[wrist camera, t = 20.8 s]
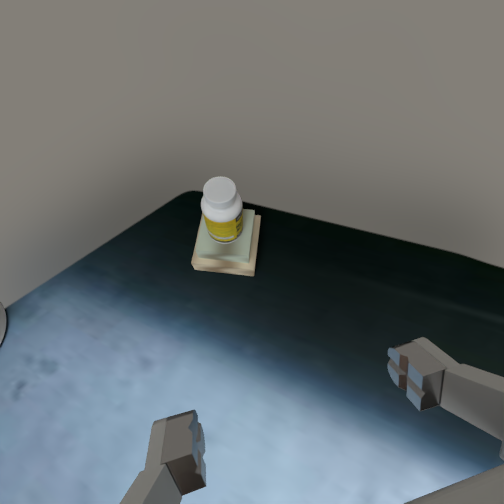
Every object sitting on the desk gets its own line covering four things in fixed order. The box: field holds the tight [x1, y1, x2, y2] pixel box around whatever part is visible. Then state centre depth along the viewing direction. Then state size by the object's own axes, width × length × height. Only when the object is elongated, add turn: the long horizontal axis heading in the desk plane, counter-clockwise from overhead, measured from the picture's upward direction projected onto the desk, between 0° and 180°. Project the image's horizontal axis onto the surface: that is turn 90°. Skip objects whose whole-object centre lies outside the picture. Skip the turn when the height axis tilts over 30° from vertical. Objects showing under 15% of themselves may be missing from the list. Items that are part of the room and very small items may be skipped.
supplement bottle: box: [201, 176, 243, 244], centre depth 35 cm, size 5×5×10 cm
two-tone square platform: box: [191, 209, 261, 276], centre depth 43 cm, size 10×10×6 cm
